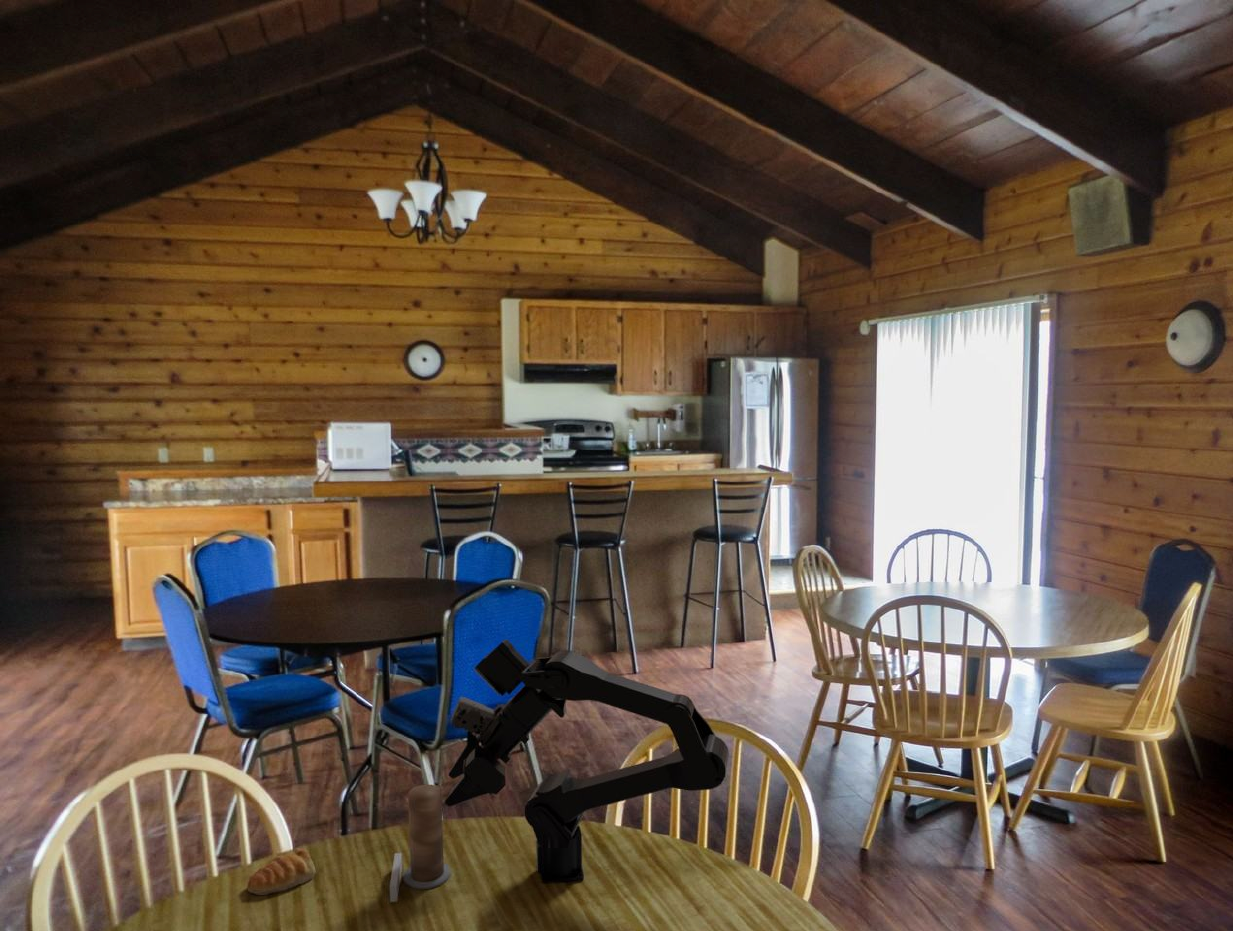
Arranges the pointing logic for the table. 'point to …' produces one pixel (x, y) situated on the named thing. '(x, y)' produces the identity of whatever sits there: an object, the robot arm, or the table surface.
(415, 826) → the walnut post
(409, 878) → the slate mat
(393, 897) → the acrylic wall
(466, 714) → the robot arm
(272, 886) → the pastry
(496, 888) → the table surface
